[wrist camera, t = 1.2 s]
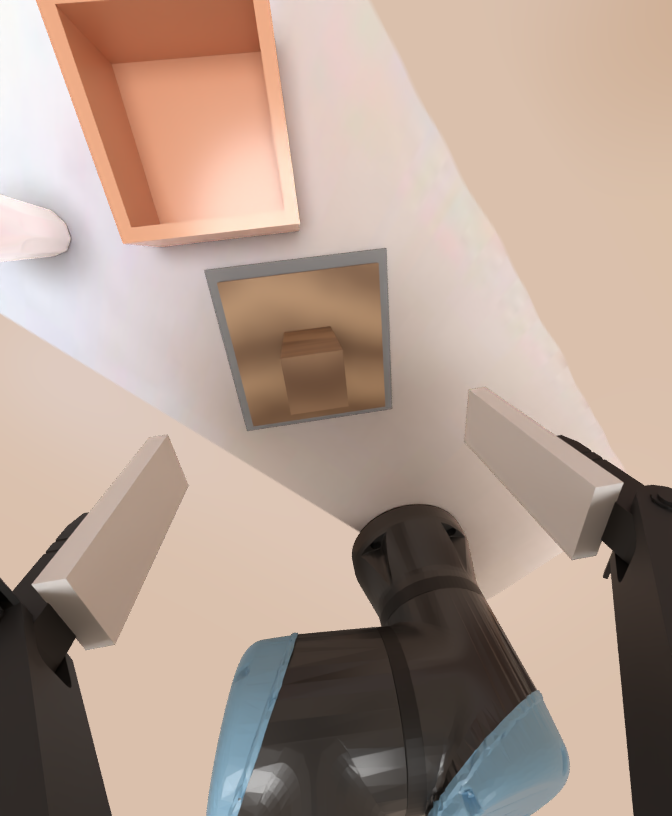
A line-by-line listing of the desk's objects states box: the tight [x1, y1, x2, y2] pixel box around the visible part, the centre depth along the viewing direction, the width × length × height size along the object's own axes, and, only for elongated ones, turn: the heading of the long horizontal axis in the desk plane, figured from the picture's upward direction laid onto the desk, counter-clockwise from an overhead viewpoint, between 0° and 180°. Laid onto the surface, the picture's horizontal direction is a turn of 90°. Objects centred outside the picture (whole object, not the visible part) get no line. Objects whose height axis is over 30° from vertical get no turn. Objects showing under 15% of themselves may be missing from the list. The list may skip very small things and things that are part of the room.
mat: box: [204, 248, 392, 431], centre depth 29 cm, size 15×15×1 cm
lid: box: [217, 263, 385, 427], centre depth 25 cm, size 13×13×9 cm
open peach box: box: [36, 0, 300, 247], centre depth 20 cm, size 11×11×6 cm
